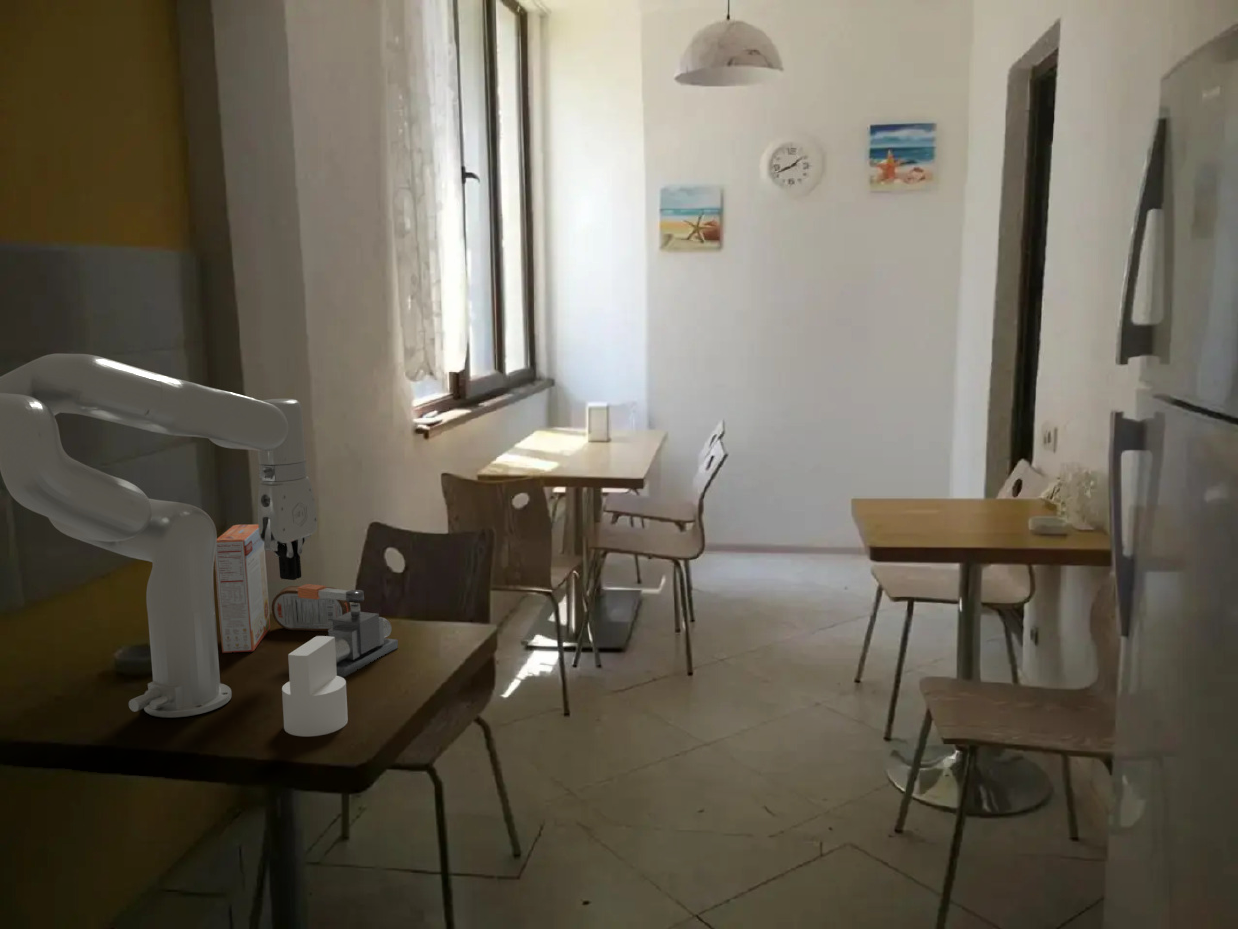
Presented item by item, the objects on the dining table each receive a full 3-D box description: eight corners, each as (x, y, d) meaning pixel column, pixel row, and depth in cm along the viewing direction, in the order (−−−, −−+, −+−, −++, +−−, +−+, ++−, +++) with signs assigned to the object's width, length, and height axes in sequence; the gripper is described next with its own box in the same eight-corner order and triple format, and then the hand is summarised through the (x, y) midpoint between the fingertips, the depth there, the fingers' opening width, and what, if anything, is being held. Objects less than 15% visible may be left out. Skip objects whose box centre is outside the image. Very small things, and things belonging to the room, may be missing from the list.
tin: (352, 628, 195) (350, 585, 194) (346, 633, 192) (344, 590, 191) (277, 626, 197) (275, 584, 196) (270, 631, 194) (268, 588, 193)
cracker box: (239, 630, 194) (232, 524, 191) (271, 629, 195) (265, 523, 192) (218, 654, 181) (211, 539, 178) (253, 652, 181) (246, 538, 178)
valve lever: (367, 599, 176) (366, 589, 176) (357, 604, 173) (356, 594, 173) (308, 593, 181) (307, 583, 180) (297, 597, 178) (296, 587, 178)
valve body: (344, 677, 168) (341, 618, 167) (314, 672, 171) (311, 615, 169) (398, 647, 183) (395, 594, 182) (369, 644, 185) (367, 591, 184)
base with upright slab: (330, 738, 144) (326, 657, 142) (272, 734, 145) (267, 654, 144) (358, 714, 153) (354, 637, 151) (302, 710, 154) (298, 634, 152)
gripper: (271, 481, 162) (279, 592, 165) (329, 466, 175) (336, 569, 178) (233, 479, 164) (242, 588, 167) (293, 464, 178) (300, 565, 181)
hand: (290, 578), depth 173 cm, fingers closed
